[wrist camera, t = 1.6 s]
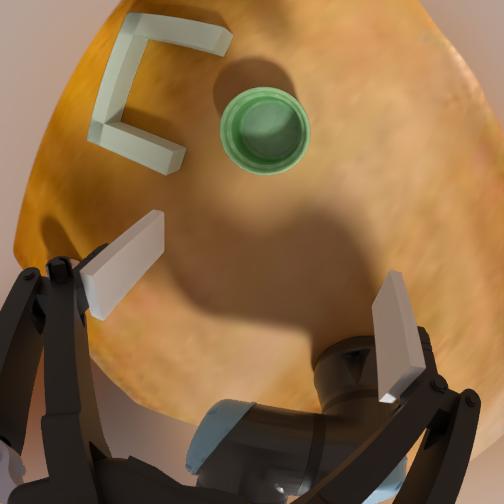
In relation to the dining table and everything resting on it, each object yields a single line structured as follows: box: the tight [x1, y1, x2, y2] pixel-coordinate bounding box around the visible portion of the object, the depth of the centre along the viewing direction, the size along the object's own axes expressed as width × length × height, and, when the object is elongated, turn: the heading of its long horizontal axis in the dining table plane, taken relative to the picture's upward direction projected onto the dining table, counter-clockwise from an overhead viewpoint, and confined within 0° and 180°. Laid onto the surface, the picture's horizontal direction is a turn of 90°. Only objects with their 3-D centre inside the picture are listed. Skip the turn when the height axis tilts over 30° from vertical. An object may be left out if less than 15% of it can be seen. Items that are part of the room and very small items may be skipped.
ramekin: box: [220, 87, 310, 175], centre depth 28 cm, size 9×9×4 cm
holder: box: [87, 12, 234, 176], centre depth 29 cm, size 14×18×4 cm
